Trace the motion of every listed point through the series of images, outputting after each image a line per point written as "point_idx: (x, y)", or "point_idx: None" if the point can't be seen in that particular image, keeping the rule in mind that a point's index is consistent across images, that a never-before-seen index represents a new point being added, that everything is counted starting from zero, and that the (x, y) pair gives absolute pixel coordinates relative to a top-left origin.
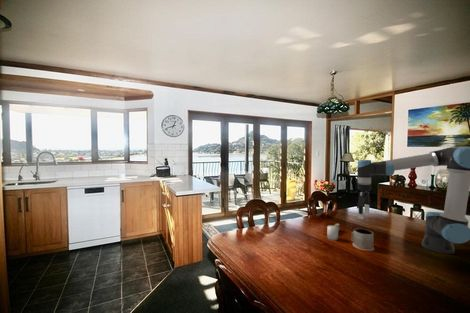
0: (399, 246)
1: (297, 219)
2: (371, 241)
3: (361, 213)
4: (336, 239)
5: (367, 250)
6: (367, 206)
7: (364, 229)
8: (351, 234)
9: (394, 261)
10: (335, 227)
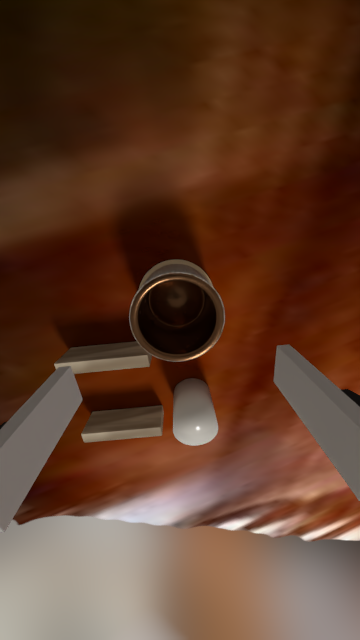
0: (32, 189)
1: (125, 516)
2: (189, 268)
3: (357, 396)
4: (197, 381)
5: (205, 273)
6: (10, 467)
7: (138, 329)
8: (149, 361)
9: (229, 156)
10: (187, 422)
